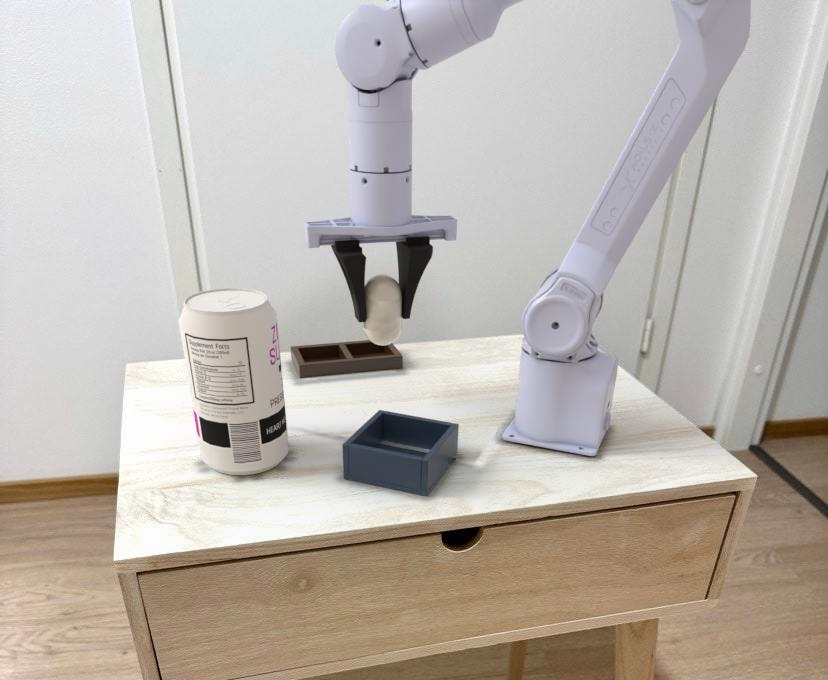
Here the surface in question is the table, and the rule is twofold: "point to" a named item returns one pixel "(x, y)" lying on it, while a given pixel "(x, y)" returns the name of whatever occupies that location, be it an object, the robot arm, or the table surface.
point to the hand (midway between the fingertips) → (382, 317)
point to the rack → (344, 358)
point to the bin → (400, 452)
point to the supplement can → (235, 379)
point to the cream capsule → (383, 310)
